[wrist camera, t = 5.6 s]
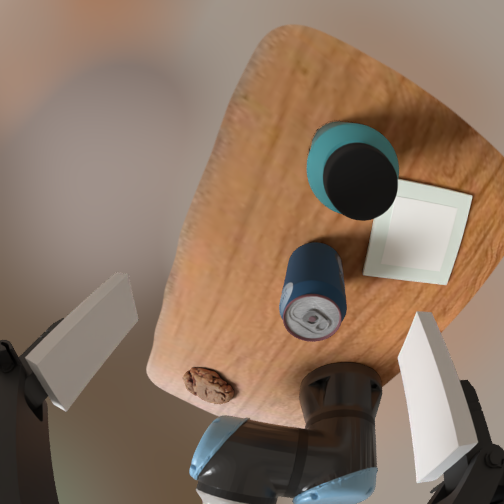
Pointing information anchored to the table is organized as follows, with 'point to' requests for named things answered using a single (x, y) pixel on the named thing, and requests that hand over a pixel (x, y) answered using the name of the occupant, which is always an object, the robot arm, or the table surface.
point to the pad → (418, 234)
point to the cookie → (208, 386)
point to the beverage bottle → (353, 170)
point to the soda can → (313, 293)
